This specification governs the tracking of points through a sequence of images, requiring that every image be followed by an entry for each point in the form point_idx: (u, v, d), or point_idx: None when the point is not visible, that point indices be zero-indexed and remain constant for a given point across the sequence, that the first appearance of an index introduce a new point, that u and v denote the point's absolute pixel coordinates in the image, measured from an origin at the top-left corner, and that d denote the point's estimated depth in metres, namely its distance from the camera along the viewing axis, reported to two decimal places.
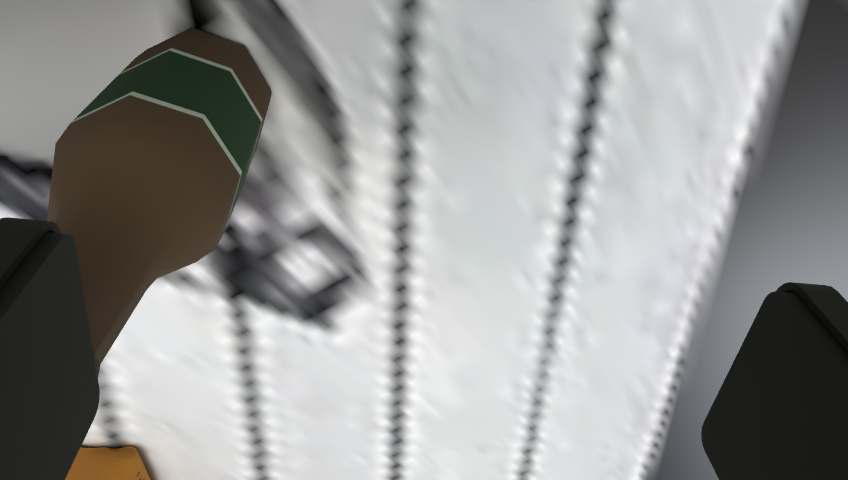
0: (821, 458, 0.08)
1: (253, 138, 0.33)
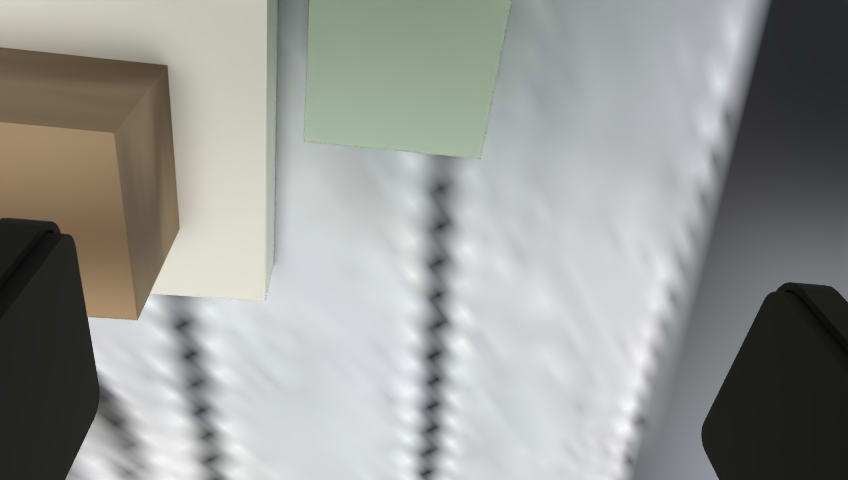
0: (821, 458, 0.08)
1: None
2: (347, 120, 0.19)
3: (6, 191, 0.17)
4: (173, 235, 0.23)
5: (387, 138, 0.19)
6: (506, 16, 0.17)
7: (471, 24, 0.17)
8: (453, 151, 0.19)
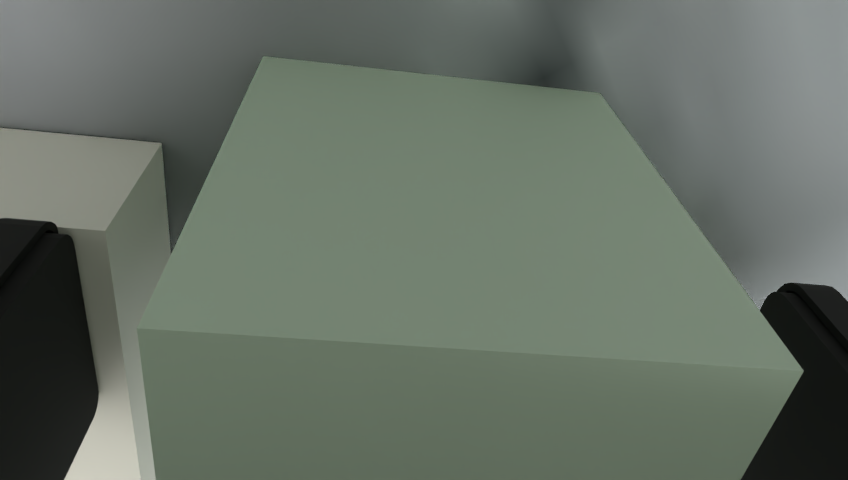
0: (822, 459, 0.08)
1: None
2: None
3: None
4: None
5: None
6: (749, 454, 0.06)
7: (644, 475, 0.06)
8: None
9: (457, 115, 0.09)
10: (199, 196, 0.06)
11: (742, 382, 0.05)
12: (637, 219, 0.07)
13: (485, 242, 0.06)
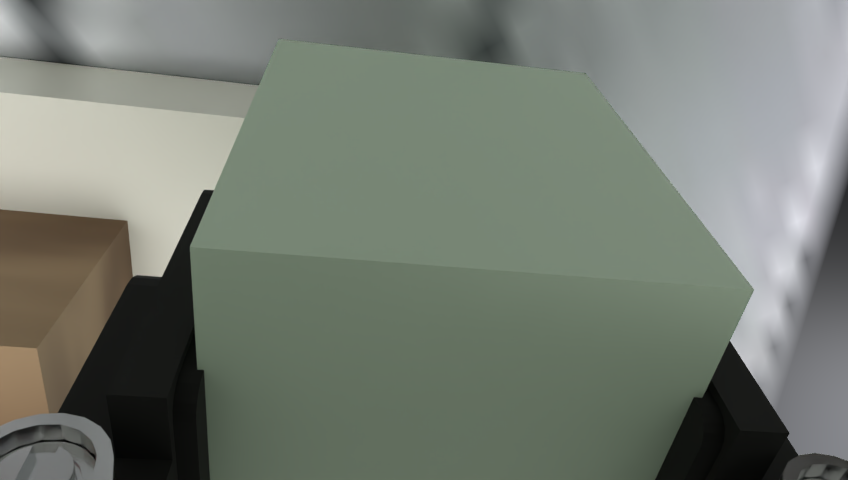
0: None
1: None
2: None
3: None
4: None
5: None
6: (711, 369, 0.07)
7: (619, 387, 0.07)
8: None
9: (456, 90, 0.10)
10: (232, 150, 0.07)
11: (702, 300, 0.06)
12: (616, 175, 0.08)
13: (481, 190, 0.07)
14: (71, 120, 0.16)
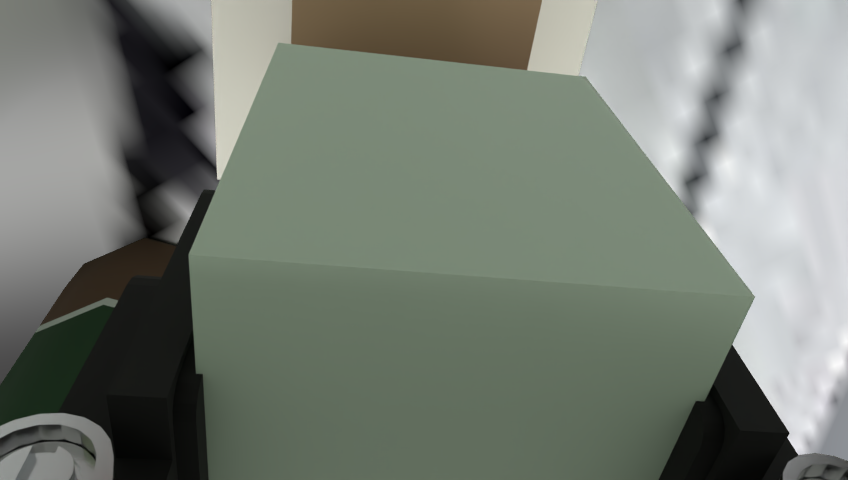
0: None
1: None
2: None
3: (418, 45, 0.17)
4: None
5: None
6: (711, 375, 0.07)
7: (620, 394, 0.07)
8: None
9: (456, 95, 0.10)
10: (231, 156, 0.07)
11: (703, 306, 0.06)
12: (616, 180, 0.08)
13: (481, 196, 0.07)
14: None
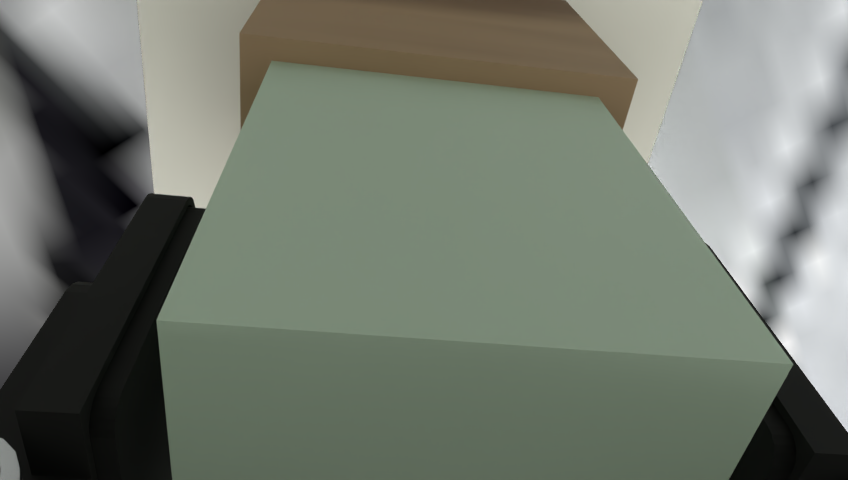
0: None
1: None
2: None
3: None
4: None
5: None
6: (740, 446, 0.06)
7: (640, 465, 0.06)
8: None
9: (460, 119, 0.09)
10: (212, 196, 0.07)
11: (733, 373, 0.06)
12: (634, 220, 0.07)
13: (487, 242, 0.07)
14: None
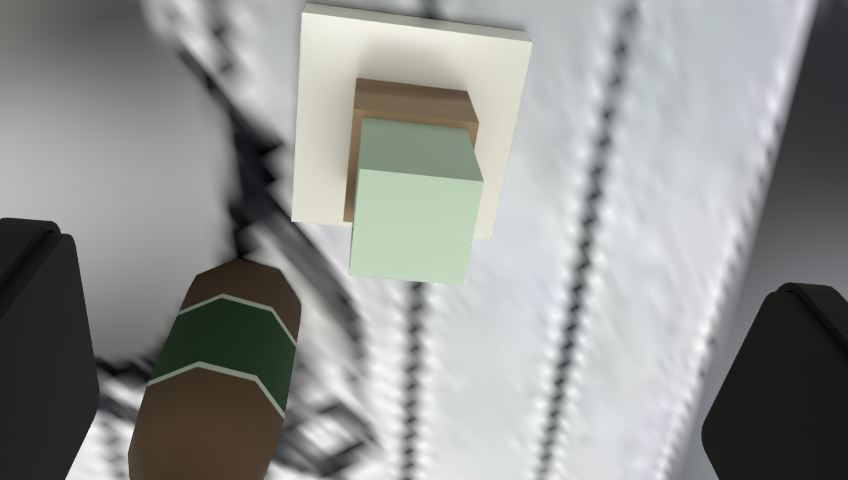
0: (821, 458, 0.08)
1: (291, 370, 0.40)
2: (377, 262, 0.29)
3: None
4: None
5: (402, 273, 0.29)
6: (478, 203, 0.28)
7: (456, 208, 0.28)
8: (445, 280, 0.30)
9: (420, 135, 0.31)
10: (361, 150, 0.28)
11: (472, 183, 0.27)
12: (462, 158, 0.29)
13: (424, 161, 0.28)
14: (455, 42, 0.35)
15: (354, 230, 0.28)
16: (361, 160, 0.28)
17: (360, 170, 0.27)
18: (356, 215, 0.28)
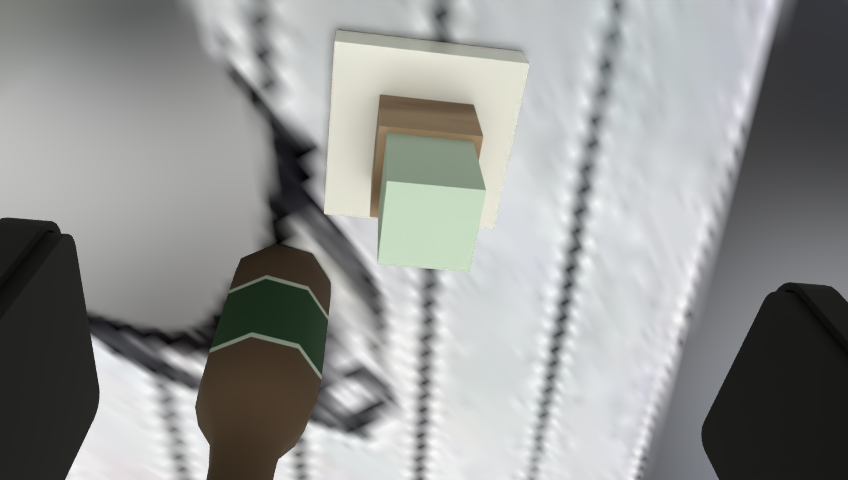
0: (821, 458, 0.08)
1: (324, 339, 0.47)
2: (400, 254, 0.36)
3: None
4: None
5: (420, 262, 0.36)
6: (481, 207, 0.35)
7: (464, 211, 0.35)
8: (455, 268, 0.37)
9: (435, 148, 0.38)
10: (387, 164, 0.35)
11: (476, 192, 0.34)
12: (469, 169, 0.36)
13: (438, 172, 0.35)
14: (463, 64, 0.42)
15: (382, 229, 0.35)
16: (388, 173, 0.34)
17: (387, 182, 0.34)
18: (384, 217, 0.35)
